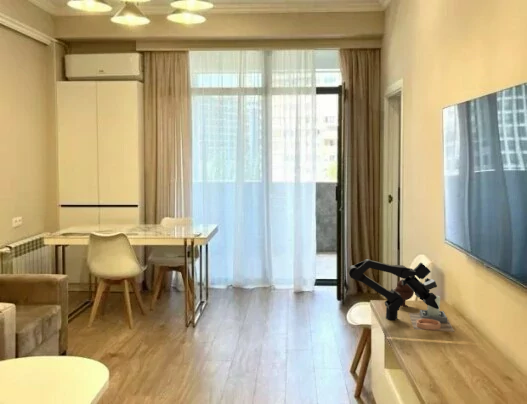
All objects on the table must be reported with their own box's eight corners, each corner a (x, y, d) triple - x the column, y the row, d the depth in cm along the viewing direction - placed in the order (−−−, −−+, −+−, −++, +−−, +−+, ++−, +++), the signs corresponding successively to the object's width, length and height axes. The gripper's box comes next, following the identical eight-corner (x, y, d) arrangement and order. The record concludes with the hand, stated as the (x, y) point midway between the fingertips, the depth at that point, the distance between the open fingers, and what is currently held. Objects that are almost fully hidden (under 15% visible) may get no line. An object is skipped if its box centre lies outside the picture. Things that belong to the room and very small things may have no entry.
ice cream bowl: (393, 309, 324) (394, 282, 323) (393, 304, 335) (394, 277, 333) (413, 310, 322) (414, 283, 320) (413, 305, 333) (413, 278, 331)
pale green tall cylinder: (426, 315, 307) (427, 293, 306) (438, 316, 307) (439, 294, 305) (427, 318, 301) (428, 296, 300) (439, 319, 301) (441, 297, 300)
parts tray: (419, 314, 311) (419, 309, 311) (443, 316, 309) (443, 311, 309) (422, 321, 299) (422, 316, 299) (446, 322, 297) (447, 317, 297)
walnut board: (408, 314, 314) (408, 312, 314) (445, 316, 311) (445, 314, 311) (413, 331, 286) (413, 329, 286) (454, 333, 283) (454, 331, 283)
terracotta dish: (415, 321, 298) (415, 318, 297) (438, 323, 296) (438, 319, 296) (417, 328, 287) (418, 324, 287) (441, 330, 285) (441, 326, 285)
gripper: (433, 278, 292) (454, 300, 294) (421, 270, 311) (441, 291, 313) (416, 294, 293) (437, 316, 294) (406, 285, 311) (426, 306, 313)
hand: (436, 306), depth 304 cm, fingers closed on pale green tall cylinder, 6 cm apart
